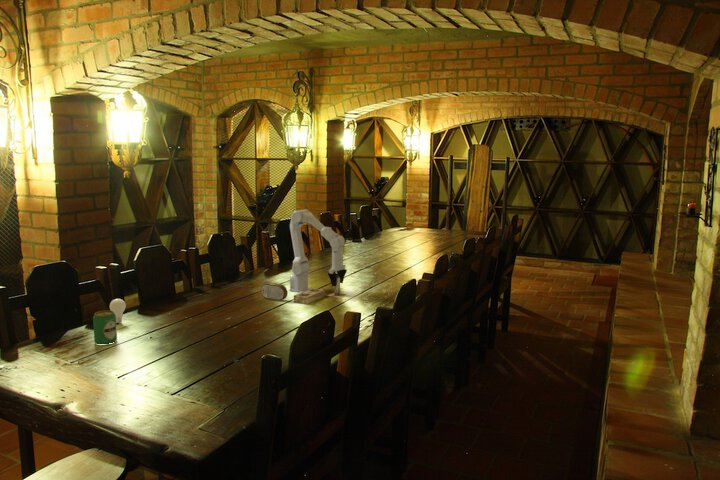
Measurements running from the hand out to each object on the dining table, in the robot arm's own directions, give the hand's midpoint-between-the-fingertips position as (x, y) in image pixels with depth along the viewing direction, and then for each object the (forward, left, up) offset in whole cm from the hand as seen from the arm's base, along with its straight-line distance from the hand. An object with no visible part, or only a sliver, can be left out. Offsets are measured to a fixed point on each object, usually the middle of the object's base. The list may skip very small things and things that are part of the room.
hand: (337, 284), depth 288 cm
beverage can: (-46, -106, -6) cm, 116 cm away
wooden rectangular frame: (-9, -13, -6) cm, 17 cm away
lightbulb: (-61, -87, -6) cm, 106 cm away
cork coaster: (0, 0, -6) cm, 6 cm away
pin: (0, 0, -6) cm, 6 cm away
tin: (-25, -22, -6) cm, 34 cm away
